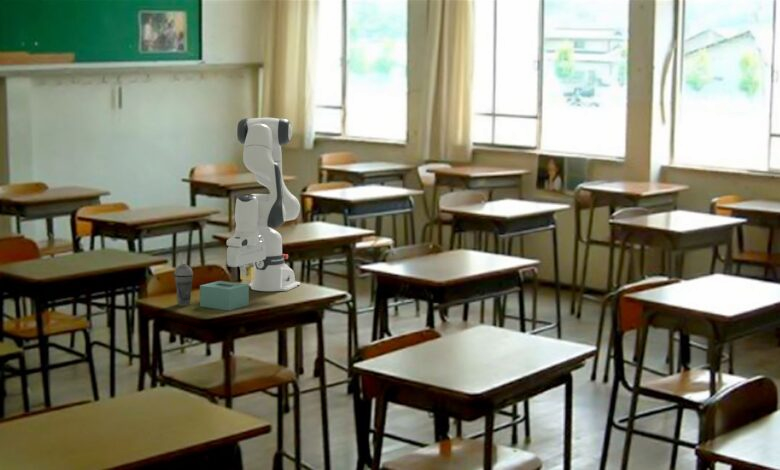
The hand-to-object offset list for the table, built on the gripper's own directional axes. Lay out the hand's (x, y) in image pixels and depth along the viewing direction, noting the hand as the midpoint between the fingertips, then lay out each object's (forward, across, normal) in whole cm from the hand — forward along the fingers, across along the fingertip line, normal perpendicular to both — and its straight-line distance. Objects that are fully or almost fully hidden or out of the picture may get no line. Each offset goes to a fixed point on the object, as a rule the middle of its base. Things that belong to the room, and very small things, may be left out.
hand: (247, 275), depth 450 cm
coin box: (+14, -2, -13) cm, 19 cm away
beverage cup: (+14, +5, -27) cm, 30 cm away
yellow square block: (+2, 0, 0) cm, 2 cm away
